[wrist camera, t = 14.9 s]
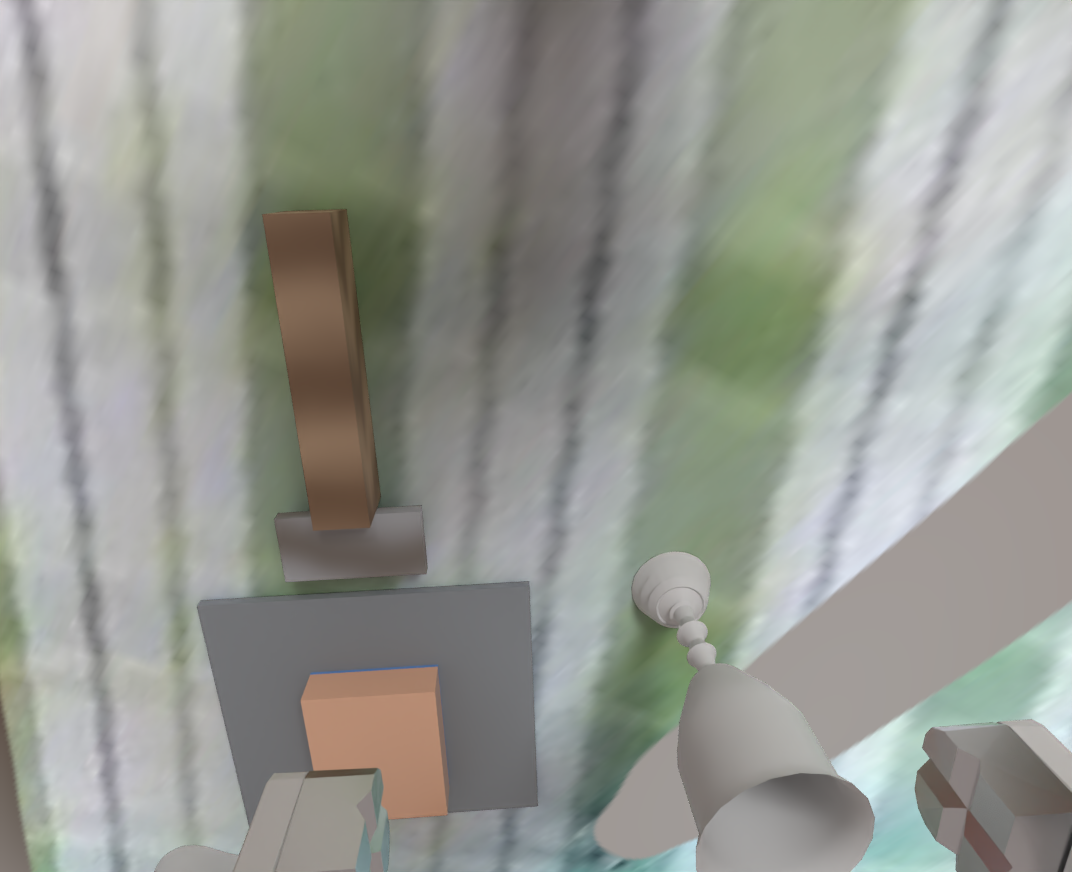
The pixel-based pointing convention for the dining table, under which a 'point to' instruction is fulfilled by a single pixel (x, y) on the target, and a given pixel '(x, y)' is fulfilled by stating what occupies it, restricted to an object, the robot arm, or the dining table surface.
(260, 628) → the mat
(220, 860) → the lumpy-topped squat cylinder
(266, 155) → the dining table surface
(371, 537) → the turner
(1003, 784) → the robot arm
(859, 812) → the chalice
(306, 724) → the tile
